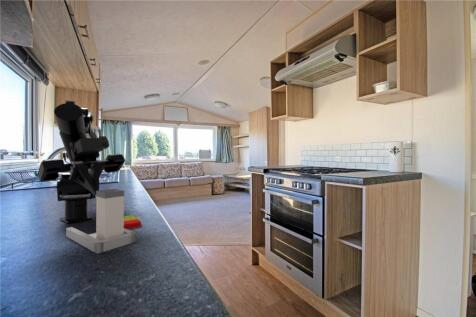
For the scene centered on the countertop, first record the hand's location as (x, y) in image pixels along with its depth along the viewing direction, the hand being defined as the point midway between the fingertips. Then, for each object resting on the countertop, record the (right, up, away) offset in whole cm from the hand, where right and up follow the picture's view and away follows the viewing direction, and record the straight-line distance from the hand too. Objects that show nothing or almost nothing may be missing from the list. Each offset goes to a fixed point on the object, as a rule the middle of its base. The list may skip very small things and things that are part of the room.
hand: (96, 193), depth 59 cm
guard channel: (+3, -10, -4) cm, 11 cm away
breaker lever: (+7, -9, -7) cm, 14 cm away
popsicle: (+2, -10, +10) cm, 15 cm away
